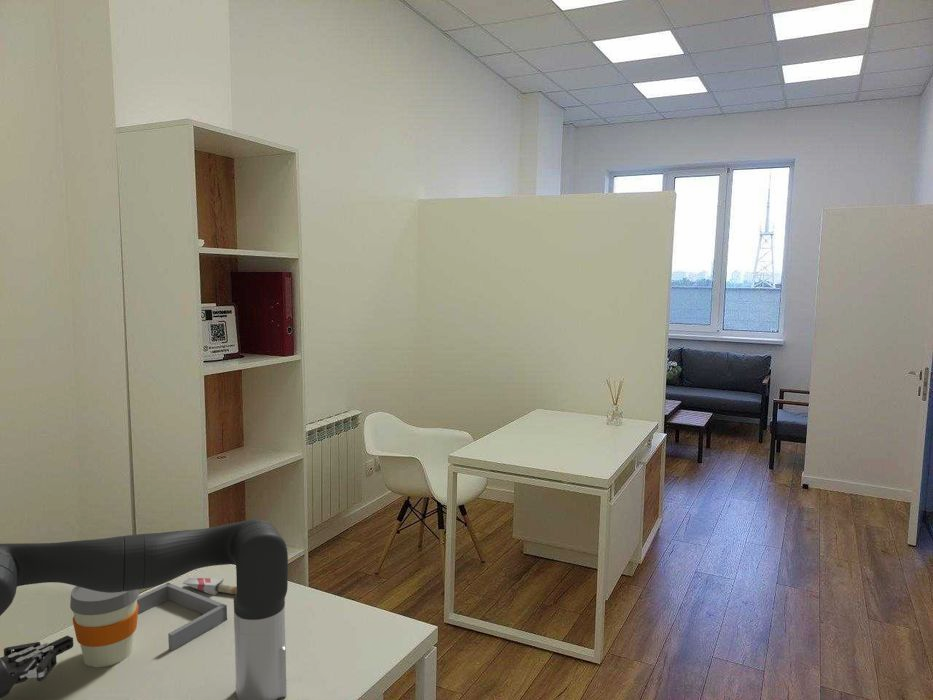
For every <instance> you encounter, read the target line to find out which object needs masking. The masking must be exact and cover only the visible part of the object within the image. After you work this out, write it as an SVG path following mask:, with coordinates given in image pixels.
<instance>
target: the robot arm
mask: <svg viewBox="0 0 933 700" xmlns="http://www.w3.org/2000/svg"><path fill="white" fill-rule="evenodd" d="M288 553H289V552H288V548H287V544H286V541H285V539H284V538H283V537H282V536H281V534H280V533H279V530H278V529H277V528H276V527H275V525H273V524H272V523H270V522H269V521H267V520H263V519H256V518H255V519H254V518H253V519H248V520H242V521H241V520H240V521H237V522H232V523H227V524H223V525H222V524H221V525H217V526H213V527H208V528H198V529H184V530H176V531H175V530H174V531H165V532H151V533H149V532H148V533H140V534H130V535H121V536H120V535H119V536H114V537H106V538H94V539H85V540H84V539H83V540H81V539H80V540H71V541H62V542H60V541H59V542H32V543H31V542H28V543H26V542H25V543H23V542H22V543H18V542H17V543H0V616H2V615H3V613H5V612H6V610H8V609H9V608H10V606H11V604H12V603H13V601H14V599H15V596H16V593H17V587H20V586H26V585H27V586H28V585H34V584H35V585H37V584H45V583H46V584H47V583H59V584H66V585H71V586H74V587H75V586H78V587H82V588H86V589H90V590H94V591H99V592H107V593H115V592H122V591H123V592H124V591H131V590H138V589H139V590H144V589H145V590H146V589H150V588H154V587H159V586H162V585H164V584H167V583H169V582H170V581H172V580H174V579H177V578H179V577H181V576H183V575H185V574H188V573H190V572H192V571H194V570H195V571H196V570H199V569H203V568H207V567H213V566H224V565H225V566H227V565H235V570H236V571H235V572H236V573H235V574H236V587H237V593H236V595H235V594H234V597H233V622H234V626H233V627H234V656H235V657H234V658H235V659H234V663H235V666H234V667H235V690H236V692H235V693H236V699H237V700H278V699H280V698H285V697H287V657H286V656H287V654H286V653H287V652H286V650H287V649H286V648H287V647H286V642H287V641H286V608H285V607H286V596H287V593H288V582H289V578H288V577H289V572H288V571H289V558H288V557H289V555H288ZM73 647H74V638H73V637H72V636H70V635H65V636H63V637H61V638H59V639H57V640H53V642H50V643H48V642H45V643H43V644H41V642H40V641H35V642H30V643H25V644H19V645H13V646H8V647H5V648H4V649H3V656H1V657H0V700H1V699H3V698H5V697H6V696H8V694H10V692H11V690H12V689H13V686H15V685H18V684H21V683H24V682H26V681H27V680H28V679H31V678H36V680H37V682H43V681H44V680H45V679H46V678H47V677H48V676H49V674H50V673H51V671H52V670H53V669H54V667H55V666H56V664H57V663H58V662H57V656H58V655H61V654H62V653H65V652H67V651H69V650H71V649H73Z"/></svg>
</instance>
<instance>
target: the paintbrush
mask: <svg viewBox="0 0 933 700" xmlns="http://www.w3.org/2000/svg"><path fill="white" fill-rule="evenodd" d="M224 580H225V578H220V577H219V578H214V577H213V578H212V577H211V578H210V577H206V578H205V577H188V578H187V579H185V580H184V581H183V582H182V584H183V585H186V586H188V587H191V588H193V589H197V590H199V591H201V592H204V593H206V594H208V595H211V596H216V595H217V594H219V592H220V593H226V594H231V595H234V596H235V595H236V593H237V586H234V585H229V584H224Z"/></svg>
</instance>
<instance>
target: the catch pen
mask: <svg viewBox="0 0 933 700" xmlns="http://www.w3.org/2000/svg"><path fill="white" fill-rule="evenodd" d="M166 601H170V602H173V603H175V604H177V605H180V606H183V607H185V608H188V609H190V610H193V611H195V612H197V613H200V614H202V615H200V616H198V617H196V618H194V619H192V620H191V621H189V622H187V623H185V624H184V625H181V626H179V627H177V628H176V629H174V630H173V631H171V632H169V633H168V634H167V635H168V638H167V639H168V649H169V650H170V651H172V652H173V651H174V650H177V649H179V647H181V646H183V645H185V644H187V643H188V642H190V641H192V640H194V639H196V638H198V637H199V636H201V635H202V634H204V633H206V632H209V631H210V630H211V629H214V628H215V627H217V626H218V625H221V624H222V623H224V622H225V621H227V620H228V606H227V604H224V603H221V602H219V601H216V600H214V599H213V598H212V599H211V598H210V597H207V596H204V595H201V594H198V593H196V592H192V591H191V590H188V589H186V588H183V587H181V586H178V585H175V584H173V583H170V582H166V583H164V584H161V585H159V586H157V587H156V588H154V589H152V590H150V591H148V592H146V593H144V594H141V595H139V596H138V598H137V603H138V606H139V607H138V615H139V614H141V613H143V612H145V611H148V610H149V609H153V608H154V607H156V606H157V605H160V604H162V603H164V602H166Z"/></svg>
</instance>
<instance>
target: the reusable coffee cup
mask: <svg viewBox="0 0 933 700" xmlns="http://www.w3.org/2000/svg"><path fill="white" fill-rule="evenodd" d="M139 596H140V589H138V590H131V591H124V592H123V591H122V592H115V593H107V592H99V591H94V590H90V589H86V588H82V587H78V586H74V587H73V588H72V589H71V592H70V603H69V604H70V605H69V607H70V610H71V611H72V613H73V617H72V624H73V628H74V632H75V633H74V634H75V637H76V642H77V643H78V644H80V645H79V646H80V648H81V649H80V650H81V654H82V658H83V662H84V664H85V665H87V666H88V665H89V666H88V667H91V666H92V668H103V667H109V666H113V665H116V664H118V662H119V663H121V662H123V661H124V660H126V659H127V658H128V657H129V656H130V655H131V654H132V652H133V644H134V636H135V631H136V630H137V625H138V617H139V616H138V615H139V614H138V607H139V606H138V603H137V598H138V597H139ZM115 663H116V664H115Z"/></svg>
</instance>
